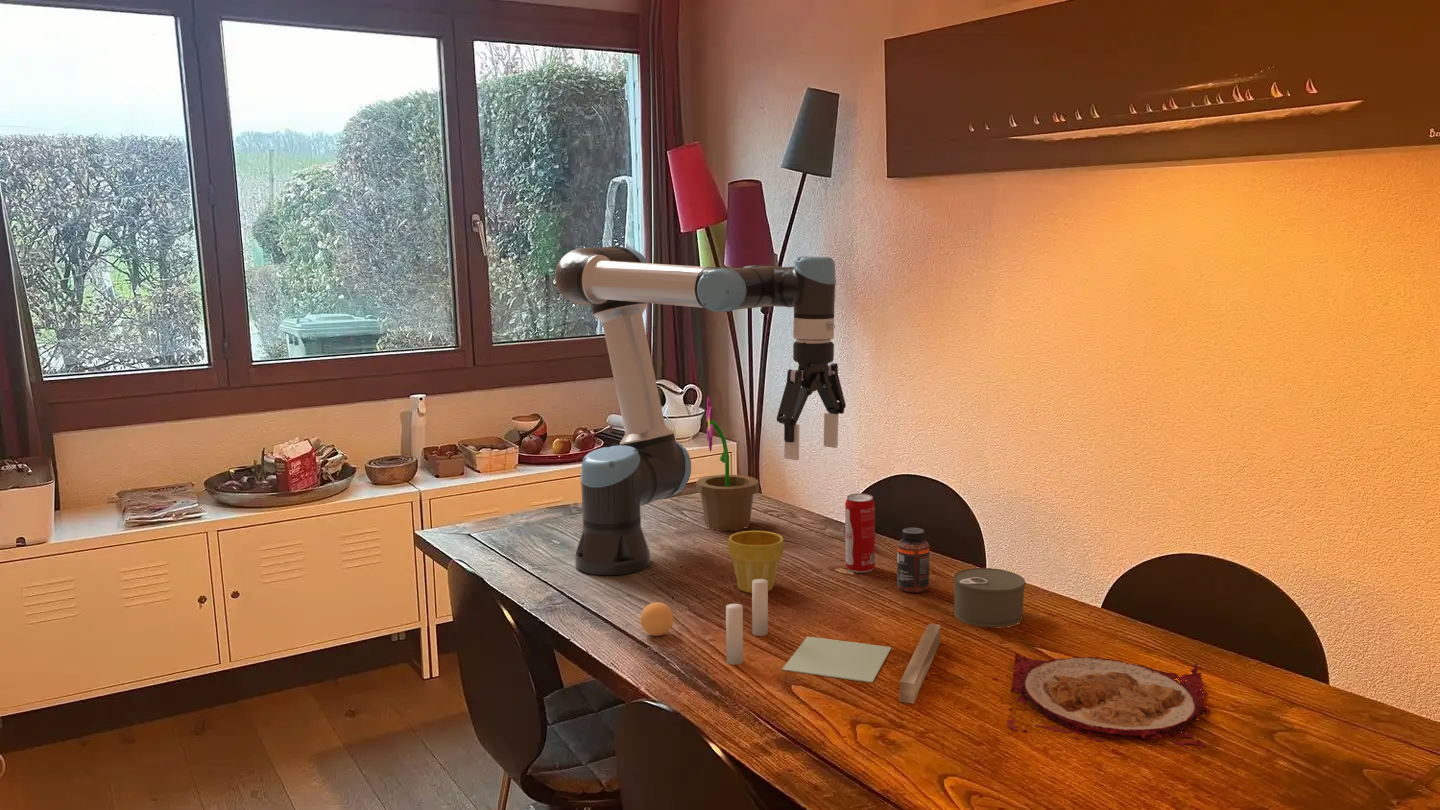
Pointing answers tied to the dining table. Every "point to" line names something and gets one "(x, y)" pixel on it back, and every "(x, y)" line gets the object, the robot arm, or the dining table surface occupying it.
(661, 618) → the ball
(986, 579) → the can
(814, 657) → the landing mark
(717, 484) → the flowerpot
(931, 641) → the wall
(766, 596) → the post
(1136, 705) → the plate with food
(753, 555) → the plant pot
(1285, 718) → the dining table surface
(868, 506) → the beverage can
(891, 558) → the dining table surface
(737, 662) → the post
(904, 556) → the supplement bottle
